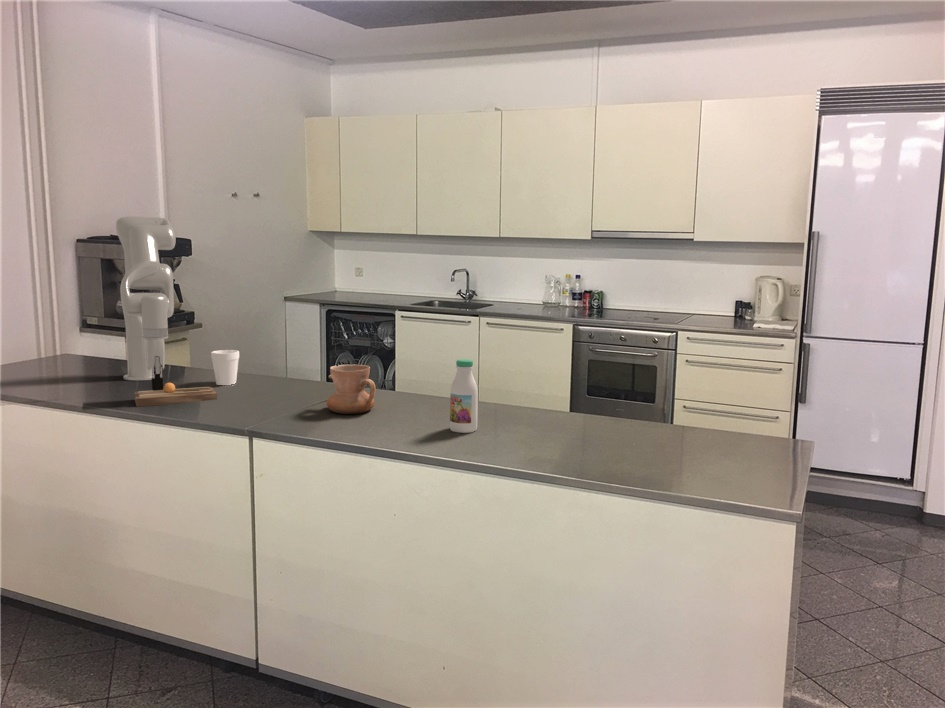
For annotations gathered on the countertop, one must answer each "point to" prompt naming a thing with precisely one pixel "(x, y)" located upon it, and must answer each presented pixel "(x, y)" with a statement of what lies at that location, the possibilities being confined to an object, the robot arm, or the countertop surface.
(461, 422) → the milk bottle
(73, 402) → the countertop surface
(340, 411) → the ceramic jug
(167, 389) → the ball
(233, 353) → the foam cup
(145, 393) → the runway
